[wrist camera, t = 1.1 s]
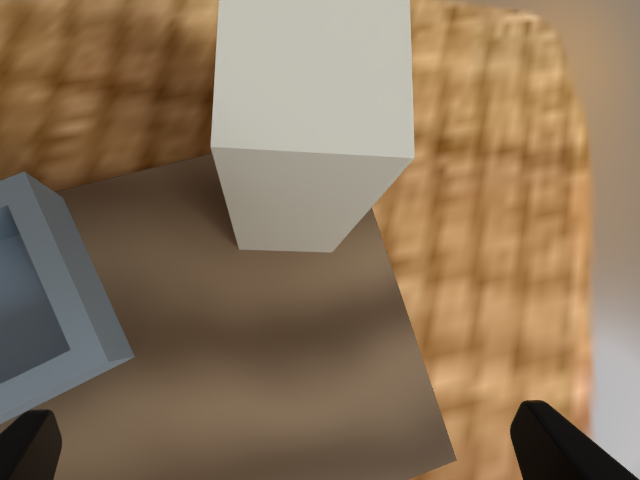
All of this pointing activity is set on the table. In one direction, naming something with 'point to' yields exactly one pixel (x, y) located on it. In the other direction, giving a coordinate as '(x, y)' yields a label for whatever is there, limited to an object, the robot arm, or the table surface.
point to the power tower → (309, 116)
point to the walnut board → (241, 348)
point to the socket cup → (48, 301)
